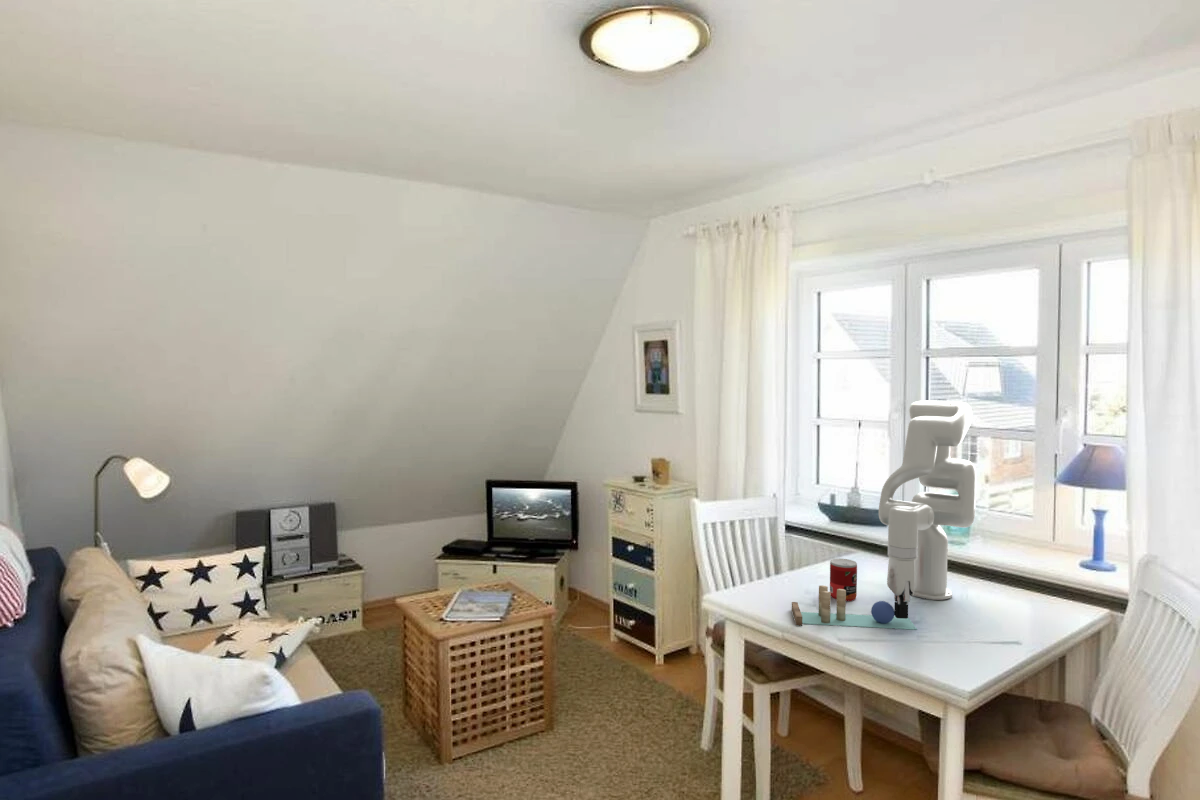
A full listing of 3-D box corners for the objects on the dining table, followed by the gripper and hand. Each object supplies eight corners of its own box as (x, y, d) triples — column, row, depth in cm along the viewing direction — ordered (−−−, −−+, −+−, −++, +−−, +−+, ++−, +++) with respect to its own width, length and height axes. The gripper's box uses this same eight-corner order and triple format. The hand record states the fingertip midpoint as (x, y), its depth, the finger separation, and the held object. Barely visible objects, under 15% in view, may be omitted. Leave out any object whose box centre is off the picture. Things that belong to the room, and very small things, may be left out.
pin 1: (817, 614, 206) (818, 585, 205) (826, 614, 205) (827, 585, 205) (819, 617, 203) (819, 587, 203) (827, 617, 203) (828, 588, 202)
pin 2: (820, 620, 201) (820, 590, 200) (829, 621, 200) (829, 591, 200) (821, 623, 198) (822, 593, 198) (830, 624, 198) (831, 594, 197)
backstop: (791, 610, 209) (791, 601, 209) (797, 610, 209) (797, 602, 209) (796, 625, 197) (796, 616, 197) (802, 625, 197) (802, 616, 197)
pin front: (835, 618, 203) (836, 588, 202) (844, 618, 202) (845, 589, 202) (837, 621, 200) (837, 591, 200) (846, 621, 200) (846, 591, 199)
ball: (891, 615, 202) (869, 618, 202) (888, 595, 201) (867, 598, 202) (898, 625, 196) (876, 628, 196) (896, 605, 195) (874, 608, 196)
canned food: (847, 603, 215) (848, 567, 214) (824, 596, 221) (824, 561, 220) (861, 597, 220) (862, 562, 219) (838, 591, 226) (838, 556, 225)
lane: (798, 612, 207) (798, 611, 207) (908, 617, 203) (908, 617, 203) (802, 623, 198) (802, 623, 198) (917, 629, 194) (917, 629, 194)
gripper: (881, 544, 205) (879, 607, 206) (896, 558, 190) (894, 626, 191) (908, 545, 204) (907, 608, 205) (925, 559, 189) (924, 628, 190)
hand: (901, 617), depth 198 cm, fingers closed
